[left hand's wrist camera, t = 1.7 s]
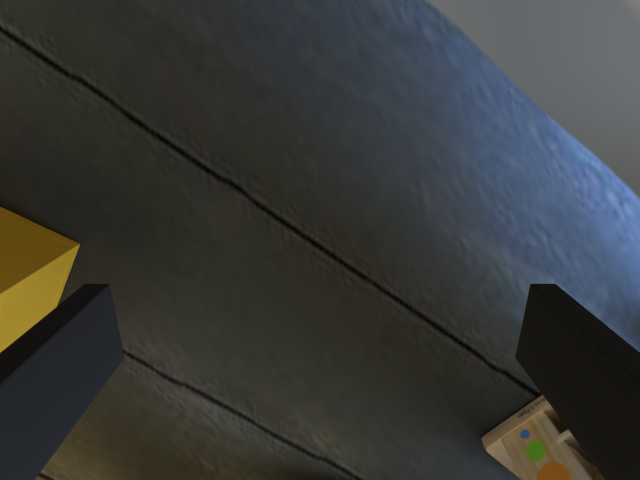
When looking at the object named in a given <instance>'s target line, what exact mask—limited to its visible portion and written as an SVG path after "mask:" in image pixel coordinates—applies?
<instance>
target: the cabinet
mask: <svg viewBox="0 0 640 480" xmlns="http://www.w3.org/2000/svg"><path fill="white" fill-rule="evenodd" d="M79 246H80V244H79V243H77V242H75V241H73V240H71V239H69V238H67V237H64V236H62V235H60V234H58V233H56V232H54V231H52V230H49V229H47V228H45V227H43V226H41V225H39V224H36V223H34V222H32V221H30V220H28V219H26V218H24V217H21V216H19V215H17V214H15V213H13V212H11V211H9V210H6V209H4V208H2V207H0V353H1V352H2V351H3V350H4V349H6V348H7V347H8V346H9V345H10V344H12V343H13V342H14V341H15V340H17V339H18V338H19V337H20V336H21V335H23V334H24V333H25V332H26V331H28V330H29V329H30V328H31V327H33V326H34V325H35V324H36V323H37V322H39V321H40V320H41V319H42V318H44V317H45V316H46V315H47V314H49V313H50V312H51V311H52V310H53V309H55V308H56V307H57V305H58V302H59V300H60V297H61V294H62V292H63V289H64V286H65V283H66V281H67V278H68V275H69V273H70V270H71V267H72V265H73V262H74V259H75V257H76V254H77V251H78V248H79Z"/></svg>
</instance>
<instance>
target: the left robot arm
mask: <svg viewBox="0 0 640 480" xmlns="http://www.w3.org/2000/svg"><path fill="white" fill-rule="evenodd" d="M123 359H124V353H123V348H122V343H121V339H120V334H119V329H118V324H117V319H116V314H115V309H114V304H113V299H112V294H111V290H110V285H109V284H84V285H83V286H82V287H80V288H79V289H78V290H77V291H76V292H74V293H73V294H72V295H71V296H69V297H68V298H67V299H66V300H64V301H63V302H62V303H61V304H60V305H58V306H57V307H56V308H55V309H53V310H52V311H51V312H50V313H49V314H47V315H46V316H45V317H44V318H42V319H41V320H40V321H39V322H37V323H36V324H35V325H34V326H33V327H31V328H30V329H29V330H28V331H26V332H25V333H24V334H23V335H21V336H20V337H19V338H18V339H17V340H15V341H14V342H13V343H12V344H10V345H9V346H8V347H7V348H6V349H4V350H3V351H2V352H1V353H0V480H35V479H36V477H37V476H38V474H39V473H40V472H41V470H42V469H43V468H44V466H45V465H46V464H47V462H48V461H49V460H50V458H51V457H52V455H53V454H54V453H55V451H56V450H57V449H58V447H59V446H60V445H61V443H62V442H63V441H64V439H65V438H66V436H67V435H68V434H69V432H70V431H71V430H72V428H73V427H74V426H75V424H76V423H77V422H78V420H79V419H80V417H81V416H82V415H83V413H84V412H85V411H86V409H87V408H88V407H89V405H90V404H91V403H92V401H93V400H94V398H95V397H96V396H97V394H98V393H99V392H100V390H101V389H102V388H103V386H104V385H105V384H106V382H107V381H108V379H109V378H110V377H111V375H112V374H113V373H114V371H115V370H116V369H117V367H118V366H119V365H120V363H121V362H122V360H123ZM516 359H517V360H518V362H519V363H520V365H521V366H522V367H523V369H524V370H525V371H526V373H527V374H528V375H529V377H530V378H531V379H532V381H533V382H534V384H535V385H536V386H537V388H538V389H539V390H540V392H541V393H542V394H543V396H544V397H545V398H546V400H547V401H548V403H549V404H550V405H551V407H552V408H553V409H554V411H555V412H556V413H557V415H558V416H559V417H560V419H561V420H562V422H563V423H564V424H565V426H566V427H567V428H568V430H569V431H570V432H571V434H572V435H573V436H574V438H575V439H576V441H577V442H578V443H579V445H580V446H581V447H582V449H583V450H584V451H585V453H586V454H587V455H588V457H589V458H590V460H591V461H592V462H593V464H594V465H595V466H596V468H597V469H598V470H599V472H600V473H601V474H602V476H603V477H604V479H605V480H640V353H639V352H638V351H637V350H636V349H634V348H633V347H632V346H631V345H630V344H628V343H627V342H626V341H625V340H623V339H622V338H621V337H620V336H619V335H617V334H616V333H615V332H614V331H612V330H611V329H610V328H609V327H607V326H606V325H605V324H604V323H603V322H601V321H600V320H599V319H598V318H596V317H595V316H594V315H593V314H591V313H590V312H589V311H588V310H587V309H585V308H584V307H583V306H582V305H580V304H579V303H578V302H577V301H576V300H574V299H573V298H572V297H571V296H569V295H568V294H567V293H566V292H564V291H563V290H562V289H561V288H560V287H558V286H557V285H556V284H531V285H530V289H529V294H528V299H527V304H526V309H525V314H524V319H523V324H522V329H521V334H520V339H519V343H518V348H517V353H516Z"/></svg>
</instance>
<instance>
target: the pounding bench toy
mask: <svg viewBox="0 0 640 480" xmlns="http://www.w3.org/2000/svg"><path fill="white" fill-rule="evenodd" d="M481 440H482V442H483V445H484V447H485V449H486V451H487V452H488V453H489V454H490V455H491V456H493V457H494V458H495V459H496V460H498V461H499V462H500V463H501V464H503V465H504V466H505V467H506V468H508V469H509V470H510V471H511V472H513V473H514V474H515V475H516V476H518V477H519V478H520V479H521V480H605V479H604V477H603V476H602V474H601V473H600V472H599V470H598V469H597V468H596V466H595V465H594V464H593V462H592V461H591V460H590V458H589V457H588V455H587V454H586V453H585V451H584V450H583V449H582V447H581V446H580V445H579V443H578V442H577V441H576V439H575V438H574V436H573V435H572V434H571V432H570V431H569V430H568V428H567V427H566V426H565V424H564V423H563V422H562V420H561V419H560V417H559V416H558V415H557V413H556V412H555V411H554V409H553V408H552V407H551V405H550V404H549V403H548V401H547V400H546V398H545V397H544V396H543V394H542V395H541V396H540V397H538V398H537V399H535V400H534V401H532V402H531V403H529V404H528V405H527V406H525V407H524V408H522V409H521V410H519V411H518V412H517V413H515V414H514V415H512V416H511V417H509V418H508V419H507V420H505V421H504V422H502V423H501V424H500V425H498V426H497V427H495V428H494V429H492V430H491V431H490V432H488V433H487V434H485V435H484V436H483V437H482V439H481Z"/></svg>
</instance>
